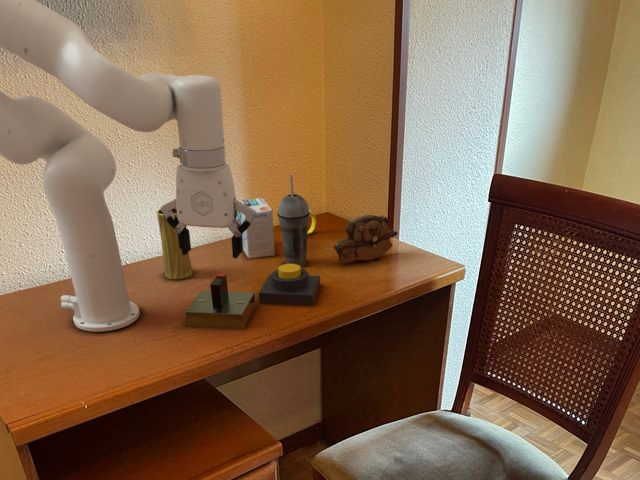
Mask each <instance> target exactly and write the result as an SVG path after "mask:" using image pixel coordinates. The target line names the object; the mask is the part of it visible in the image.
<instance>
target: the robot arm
mask: <svg viewBox="0 0 640 480" xmlns="http://www.w3.org/2000/svg"><path fill="white" fill-rule="evenodd" d="M0 47H1V48H3V49H5V50H6V51H8V52H9V53H12V54H13V55H15V56H17V57H19V58H20V59H23V60H24V61H26V62H28V63H30V64H31V65H33V66H35V67H37V68H38V69H40V70H42V71H44V72H45V73H47V74H49V75H51V76H53V77H54V78H56V79H57V80H58V81H60V82H61V83H62V85H63V86H64V87H66V88H67V89H68V90H69V91H71V92H72V93H73V94H74V95H76V96H77V98H79V99H80V100H81V101H82V102H84V103H85V104H86V105H88V106H90V107H91V108H93V109H94V110H95V111H98V112H99V113H101V114H102V115H104V116H105V117H108V118H110V119H112V120H113V121H116V122H117V123H119V124H121V125H123V126H124V127H126V128H128V129H131V130H134V131H136V132H140V133H152V132H155V131H158V130H159V129H160V128H162V127H163V126H164V125H165V124H166V123H168V122H170V121H175V120H176V122H177V133H178V142H179V143H178V144H179V146H178V148H172V157H173V158H177V159H179V163H180V164H178V165H177V166H176V174H175V175H176V177H175V198H174V199H172V200H170V201H168V202H167V203H165V204H163V205H162V206H161V207H160V209H161V211H162V213H163V215H164V216H165V218H166V219H167V222H168V223H169V224H170V225H171V226H172V227H173V228H174V229H175V232H176V233H178V240H179V247H180V249H182V255H186V254H187V253H188V252H190V251H191V250H192V245H191V236H190V235H191V234H190V230H189V228H187V227H198V228H199V227H200V228H213V229H214V228H215V229H217V228H218V229H225V228H227V229H228V230H229V231H230V232H231V233H232V236H231V251H232V252H231V253H232V258H233V259H238V258H239V257H240V255H241V253H243V252H244V250H243V240H242V234H243V233H244V232H245V231H246V230H247V229H248V227H249V226H250V225H251V223H252V221H253V218H254V216H255V214H256V212H255V210H253V209H251V208H250V207H248V206H246V205H245V204H243V203H241V202H239V201H240V200H238V199H237V194H236V188H235V183H234V178H233V174H232V169H231V167H230V164H228V163H227V162H226V161H227V160H226V148H225V147H226V146H225V132H224V131H225V130H224V120H223V105H222V104H223V103H222V90H221V84H220V82H219V80H218V79H217V78H215V77H214V76H211V75H206V74H205V75H203V74H189V75H183V76H182V75H181V76H180V75H174V74H168V73H161V72H151V71H150V72H146V73H143V74H141V75H140V76H137V75H134V74H133V73H131V72H129V71H128V70H126V69H124V68H122V67H120V66H119V65H117V64H116V63H114V62H113V61H111V60H109V59H108V58H107V57H105V56H104V55H103V54H101V53H100V51H98V50H96V48H94V46H93V45H92V44H91V43H90V41H89V40H88V37H87V36H86V34H85V33H84V31H83V29H82V28H81V27H80V26H79V25H78V24H77V23H76V22H74V21H72V20H71V19H69V18H67V17H65V16H63V15H61V14H60V13H58V12H56V11H54V10H53V9H51V8H50V7H48V6H46V5H45V4H43V3H41V2H39V1H37V0H0ZM0 156H1V157H2V158H4V159H6V160H8V161H9V162H11V163H13V164H17V165H29V164H32V163H34V162H36V161H38V160H39V159H43V160H44V161H45V162H46V163H45V166H44V168H43V172H42V186H43V189H44V193H45V196H46V199H47V201H48V202H49V206H50V208H51V211H52V213H53V216H54V218H55V222H56V225H57V228H58V232H59V237H60V239H61V243H62V246H63V250H64V254H65V257H66V262H67V266H68V271H69V274H70V278H71V282H72V286H73V290H74V294H75V295H67V294H64V295H61V296H60V308H61V310H67V311H69V310H72V311H73V312H74V314H73V316H72V320H73V324H74V326H75V327H76V328H78V329H79V330H82V331H85V332H90V333H91V332H93V333H105V332H112V331H117V330H119V329H123V328H125V327H128V326H129V325H132V324H133V323H134V322H136V321H137V320H138V319H139V317H140V314H141V311H140V307H139V306H138V305H137V304H136V303H134V302H132V301H130V297H129V292H128V287H127V283H126V278H125V273H124V268H123V264H122V259H121V254H120V249H119V243H118V240H117V235H116V230H115V226H114V222H113V219H112V218H113V217H112V215H111V212H110V210H109V207H108V205H107V201H106V199H105V191H106V190H107V189H108V188H109V187H110V185H111V184H112V182H113V181H114V179H115V177H116V173H117V165H116V160H115V157H114V155H113V153H112V151H111V150H110V148H109V147H108V146H107V145H106V144H105V143H104V142H103V141H102V140H100V138H98V137H97V136H96V135H94V134H93V133H91V132H90V131H89V130H88V129H86V128H85V127H84V126H82V125H81V124H80V123H78V122H77V121H76V120H74V119H73V118H72V117H71V116H69V115H68V114H67V113H66V112H64V111H63V110H61V109H60V108H58V107H57V106H56V105H55V104H53V103H51V102H50V101H48V100H46V99H45V98H44V99H43V98H42V97H39V96H35V95H22V96H18V97H16V98H12V97H11V96H8V95H7V94H6V93H4V92H2V91H1V90H0ZM176 207H177V217H178V218H177V217H176V216H175V215H173V212H172V209H174V208H176ZM237 211H239V212H240V213H242V214H244V215H245V217H246V218H245V220H244V222H243V223H242V224H240V223H239V221H238V217H237Z"/></svg>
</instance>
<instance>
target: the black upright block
mask: <svg viewBox="0 0 640 480" xmlns="http://www.w3.org/2000/svg"><path fill="white" fill-rule="evenodd" d="M227 278H228V277H227V274H226V273H217V274H216V276H215V277H214V279H213V280H212V282H211V283H210V284H209V286H210V291H211V296H212V304H213V307H222V306H223V304H224V303H225V301H226V300H227V298H228V292H229V288H228V279H227Z"/></svg>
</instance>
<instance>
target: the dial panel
mask: <svg viewBox="0 0 640 480" xmlns="http://www.w3.org/2000/svg"><path fill="white" fill-rule="evenodd" d="M255 308H256V295H255V292H249V291H247V292H245V291H228V298H227V300H226V301H225V303H224V304H223V306H222V307H213V304H212V296H211V290H204V289H203V290H200V292H199V293H198V294H197V295H196V296H195V298H194V300H193V301H192V302H191V304H190V305H189V307H188V308H187V309H186V310H185V316H186V322H187V327H205V328H222V329H225V328H226V329H227V328H228V329H245V327H246V325H247V323H248V321H249V319H250V317H251V316H252V314H253V311H254V310H255Z"/></svg>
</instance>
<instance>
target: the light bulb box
mask: <svg viewBox="0 0 640 480" xmlns="http://www.w3.org/2000/svg"><path fill="white" fill-rule="evenodd" d="M238 201H239V202H241V203H243V204H245V205H246V206H248V207H250V208H251V209H253V210H255V212H256V214H255V216H254V218H253V221H252V223H251V225H250V226H249V227H248V229H247V230H246V231H245V232H244V233H243V234H242V240H243V253H244V254H245V255H246V257H247V258H248V259H255V258H263V257H271V256H275V255H276V253H275V252H276V251H275V238H274V237H275V236H274V234H275V233H274V218H273V215H274V214H273V209H272V208H271V207H270V205H269V204H268V203H267V202H266V200H265V199H264V198H263V197H258V198H257V197H256V198H250V199H242V200H238ZM245 218H246V217H245V215H244V214H242V213H240V212H239V211H237V220H238V221H239V223H240V224H242V223H243V222H244V220H245Z"/></svg>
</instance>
